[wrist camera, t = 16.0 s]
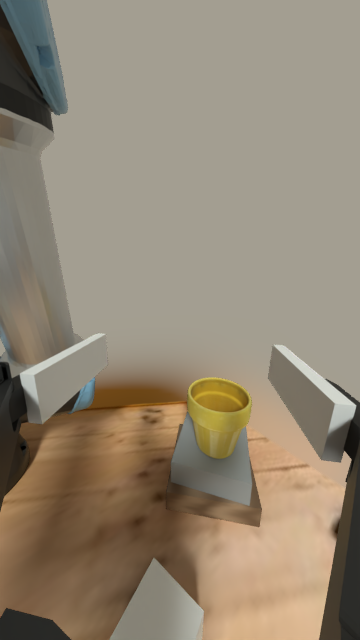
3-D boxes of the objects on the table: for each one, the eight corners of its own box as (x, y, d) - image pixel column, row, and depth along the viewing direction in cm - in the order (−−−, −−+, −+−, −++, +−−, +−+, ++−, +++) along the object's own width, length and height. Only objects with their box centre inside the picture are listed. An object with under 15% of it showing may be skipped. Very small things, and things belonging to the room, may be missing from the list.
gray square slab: (170, 482, 30) (170, 461, 29) (187, 426, 41) (187, 411, 40) (249, 505, 27) (252, 484, 26) (243, 439, 38) (245, 422, 37)
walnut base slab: (166, 511, 29) (166, 491, 28) (179, 438, 43) (179, 423, 42) (258, 530, 27) (261, 509, 26) (241, 447, 41) (243, 432, 40)
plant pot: (217, 413, 40) (220, 371, 37) (259, 451, 31) (266, 399, 29) (175, 432, 34) (176, 385, 32) (211, 484, 26) (216, 424, 24)
